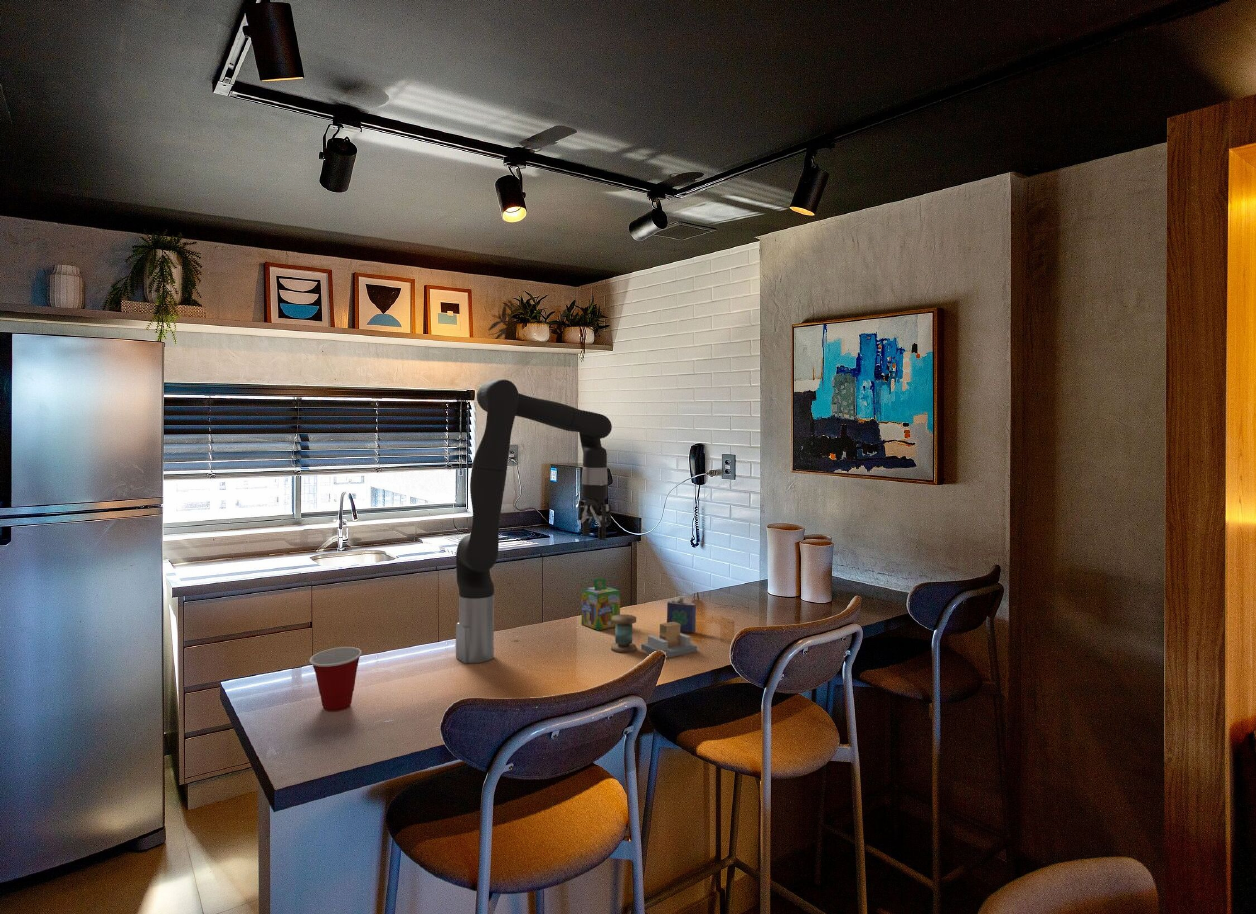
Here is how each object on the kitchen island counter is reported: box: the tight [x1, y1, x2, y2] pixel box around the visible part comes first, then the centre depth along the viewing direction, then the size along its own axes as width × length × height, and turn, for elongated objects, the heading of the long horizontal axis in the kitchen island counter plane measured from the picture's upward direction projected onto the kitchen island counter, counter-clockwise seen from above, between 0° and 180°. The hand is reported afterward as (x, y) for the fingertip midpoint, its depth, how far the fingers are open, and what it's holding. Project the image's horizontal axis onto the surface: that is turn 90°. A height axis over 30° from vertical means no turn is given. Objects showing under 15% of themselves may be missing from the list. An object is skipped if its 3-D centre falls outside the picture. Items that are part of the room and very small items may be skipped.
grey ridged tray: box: [640, 633, 698, 659], centre depth 209 cm, size 12×10×4 cm
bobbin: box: [610, 613, 637, 654], centre depth 209 cm, size 7×7×9 cm
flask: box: [666, 596, 697, 635], centre depth 228 cm, size 9×3×11 cm, turn 68°
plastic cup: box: [309, 646, 363, 713], centre depth 164 cm, size 11×11×12 cm
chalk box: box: [580, 577, 621, 631], centre depth 234 cm, size 9×9×15 cm
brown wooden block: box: [659, 622, 680, 647], centre depth 209 cm, size 5×3×6 cm, turn 125°
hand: (593, 537), depth 218 cm, fingers open, 8 cm apart
